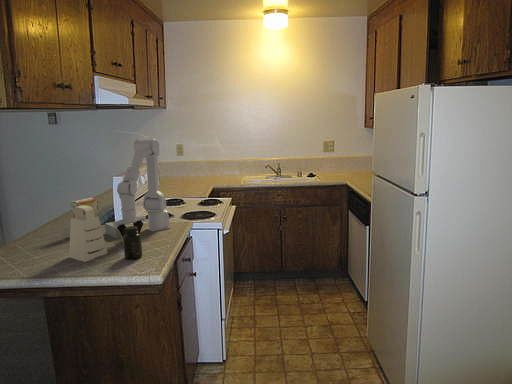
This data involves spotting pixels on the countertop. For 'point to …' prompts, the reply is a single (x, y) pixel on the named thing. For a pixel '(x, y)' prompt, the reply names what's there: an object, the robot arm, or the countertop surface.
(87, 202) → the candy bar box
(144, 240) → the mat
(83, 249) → the grater
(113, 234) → the block
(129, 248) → the supplement bottle
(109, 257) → the countertop surface
